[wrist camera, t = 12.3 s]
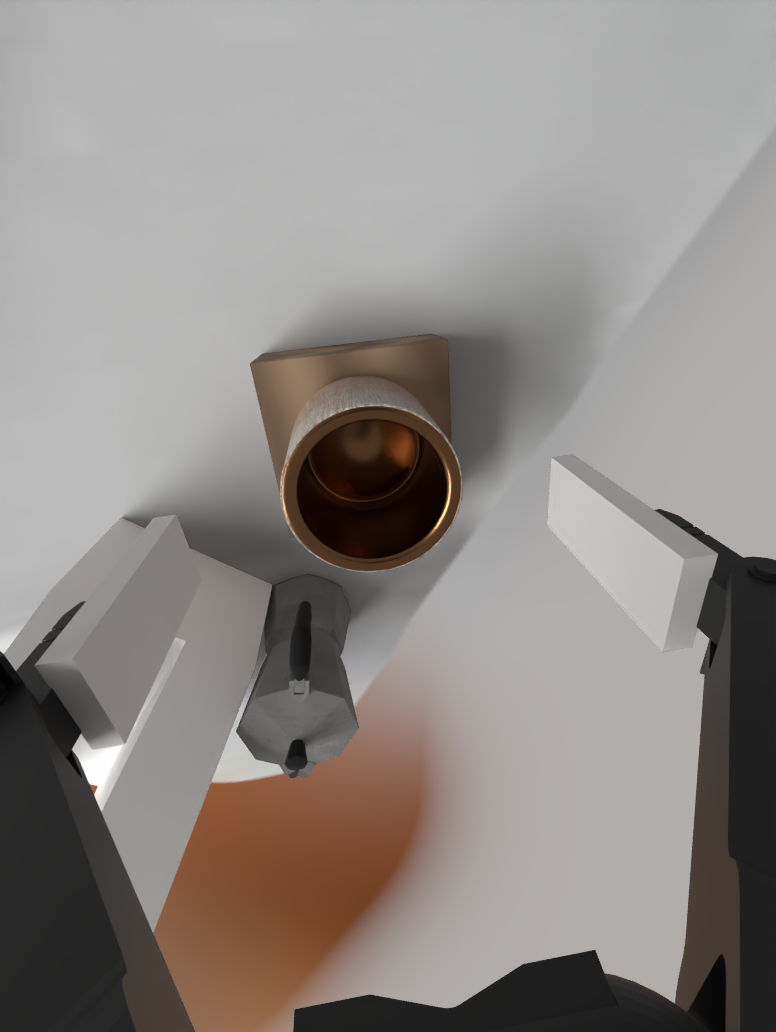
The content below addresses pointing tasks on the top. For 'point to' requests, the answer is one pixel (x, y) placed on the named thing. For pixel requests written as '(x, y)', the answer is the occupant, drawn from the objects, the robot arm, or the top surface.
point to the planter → (369, 476)
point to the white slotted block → (165, 710)
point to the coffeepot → (301, 679)
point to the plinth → (307, 371)
